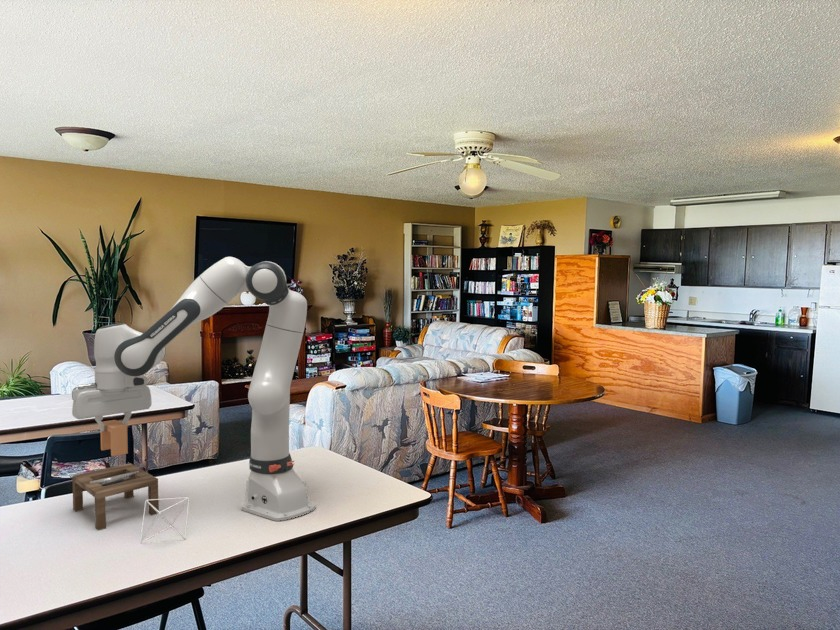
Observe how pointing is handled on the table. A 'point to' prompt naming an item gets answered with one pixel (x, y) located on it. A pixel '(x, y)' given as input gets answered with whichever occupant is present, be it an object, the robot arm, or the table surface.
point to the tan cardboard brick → (114, 438)
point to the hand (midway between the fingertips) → (113, 429)
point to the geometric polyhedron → (164, 519)
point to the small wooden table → (113, 489)
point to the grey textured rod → (115, 478)
